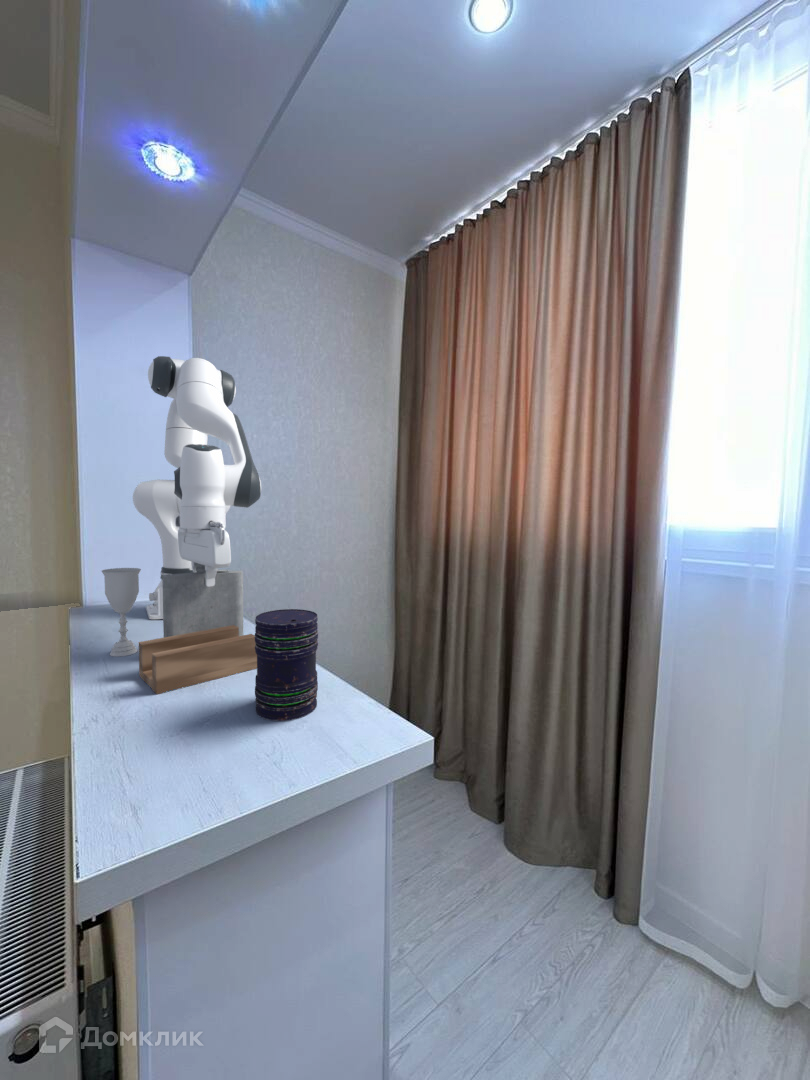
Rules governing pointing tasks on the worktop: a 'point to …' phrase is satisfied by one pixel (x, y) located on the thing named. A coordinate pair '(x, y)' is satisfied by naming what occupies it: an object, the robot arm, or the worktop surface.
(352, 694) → the worktop surface
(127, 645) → the chalice
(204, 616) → the hip flask
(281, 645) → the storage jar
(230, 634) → the u rest
